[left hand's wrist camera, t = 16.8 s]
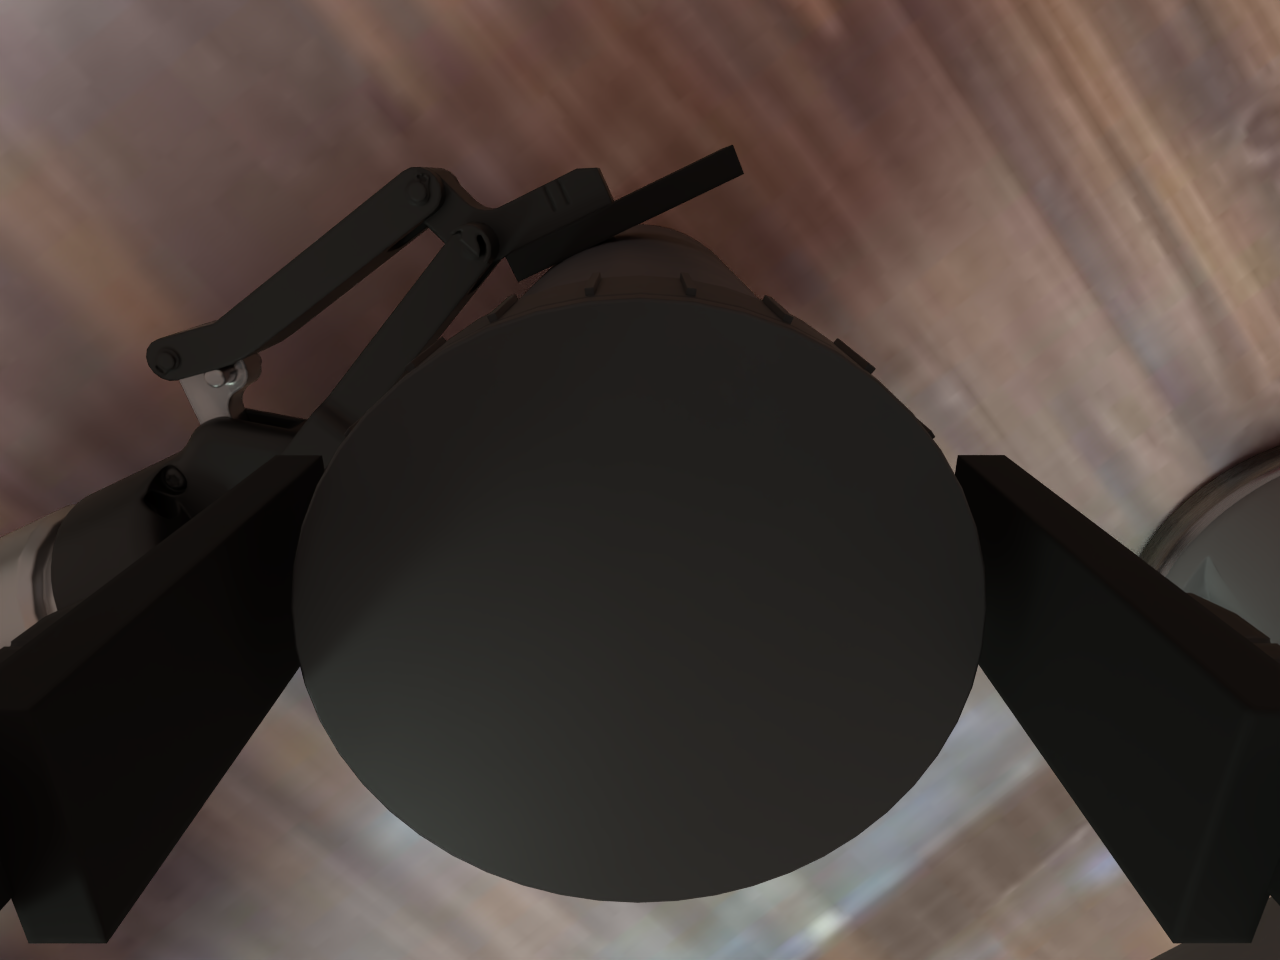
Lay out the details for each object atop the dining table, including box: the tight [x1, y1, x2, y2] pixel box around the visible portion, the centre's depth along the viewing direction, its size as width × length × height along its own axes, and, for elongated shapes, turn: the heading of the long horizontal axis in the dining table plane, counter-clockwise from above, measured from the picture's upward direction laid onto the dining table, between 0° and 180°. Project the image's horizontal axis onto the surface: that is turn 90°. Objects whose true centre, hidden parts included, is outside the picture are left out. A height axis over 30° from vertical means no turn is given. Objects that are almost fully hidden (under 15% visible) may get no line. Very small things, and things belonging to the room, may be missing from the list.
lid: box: [291, 272, 987, 903], centre depth 11 cm, size 9×9×2 cm
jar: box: [521, 224, 758, 299], centre depth 20 cm, size 8×8×20 cm
